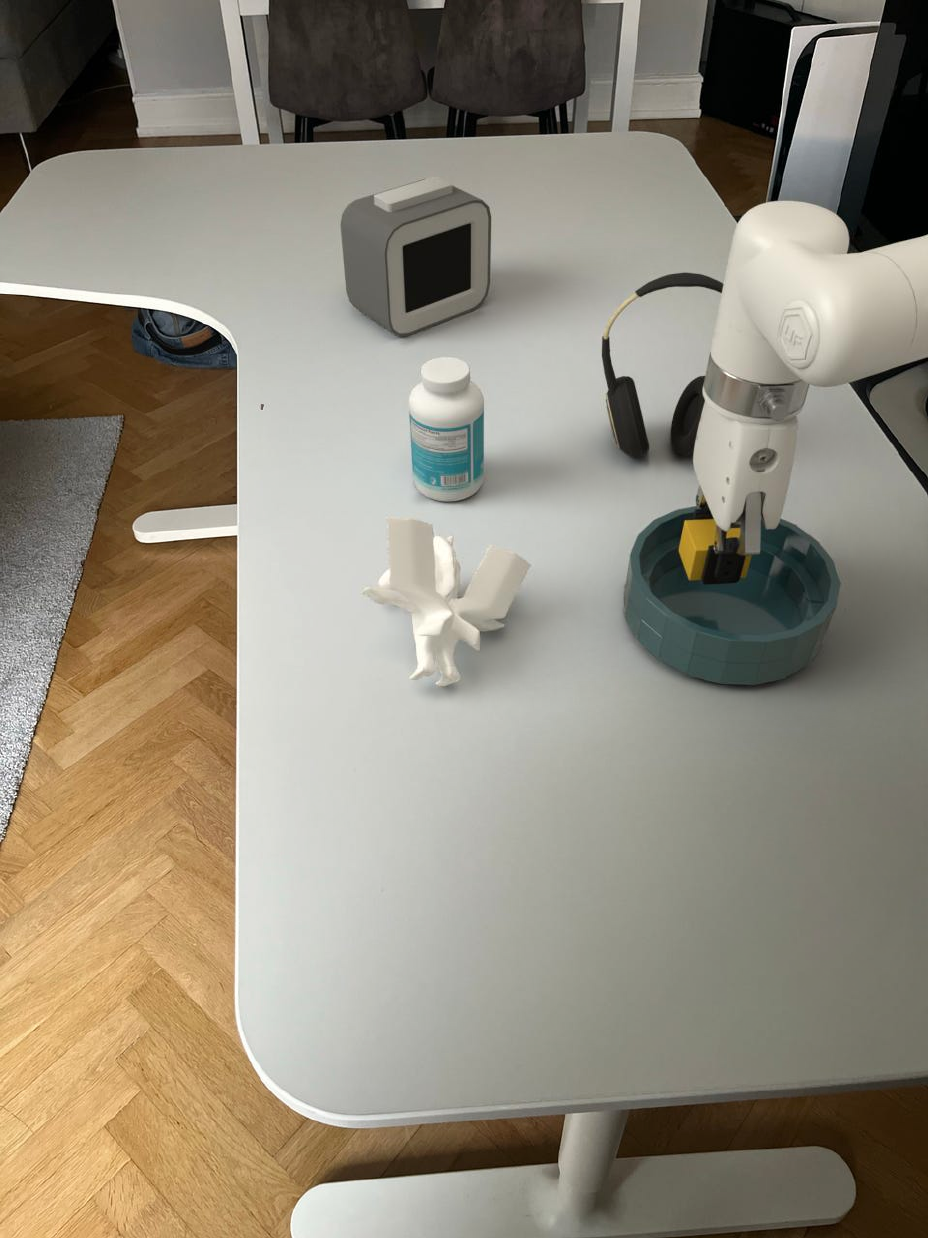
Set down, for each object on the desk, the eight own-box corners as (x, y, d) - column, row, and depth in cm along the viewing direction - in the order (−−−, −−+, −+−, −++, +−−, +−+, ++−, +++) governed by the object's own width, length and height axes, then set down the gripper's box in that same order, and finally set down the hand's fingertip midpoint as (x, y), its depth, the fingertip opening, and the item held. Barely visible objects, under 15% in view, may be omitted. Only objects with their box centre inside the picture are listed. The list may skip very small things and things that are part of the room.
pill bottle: (449, 453, 108) (447, 340, 98) (498, 483, 104) (501, 368, 94) (397, 483, 104) (390, 368, 94) (446, 514, 100) (444, 398, 91)
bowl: (854, 607, 90) (873, 557, 86) (765, 724, 81) (781, 674, 77) (684, 530, 98) (694, 481, 94) (585, 628, 89) (591, 578, 84)
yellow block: (678, 550, 88) (684, 519, 86) (733, 547, 88) (741, 516, 86) (688, 581, 85) (695, 550, 83) (745, 578, 86) (754, 547, 83)
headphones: (733, 472, 105) (774, 295, 91) (594, 473, 105) (613, 296, 91) (718, 427, 111) (755, 253, 97) (586, 427, 111) (604, 254, 97)
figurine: (460, 717, 91) (457, 579, 97) (541, 679, 82) (532, 531, 88) (314, 686, 83) (320, 538, 88) (388, 641, 74) (389, 480, 80)
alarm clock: (390, 343, 125) (382, 219, 114) (339, 309, 131) (328, 189, 120) (489, 304, 132) (491, 184, 121) (437, 274, 138) (435, 157, 127)
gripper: (845, 442, 68) (783, 629, 81) (772, 321, 80) (728, 501, 93) (738, 447, 68) (693, 634, 81) (680, 325, 79) (649, 505, 92)
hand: (712, 561), depth 87 cm, fingers closed on yellow block, 4 cm apart
